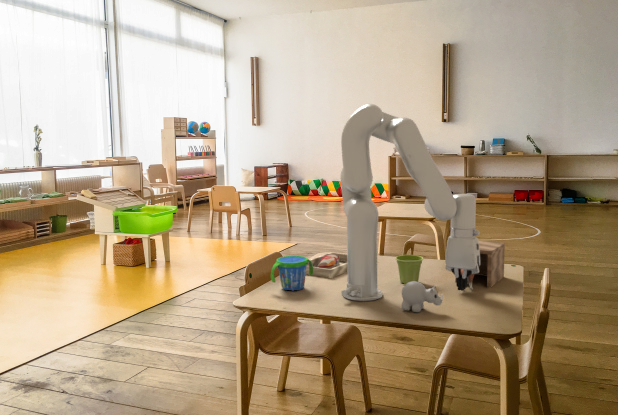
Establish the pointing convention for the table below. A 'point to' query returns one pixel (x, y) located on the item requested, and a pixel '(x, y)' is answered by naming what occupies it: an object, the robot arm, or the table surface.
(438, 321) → the table surface
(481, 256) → the wood grain box
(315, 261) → the beige tray
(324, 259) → the pencil case
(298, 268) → the snack cup
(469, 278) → the bull figurine
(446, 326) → the table surface
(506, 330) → the table surface
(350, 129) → the robot arm
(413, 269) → the plant pot
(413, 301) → the round bodied animal figurine
